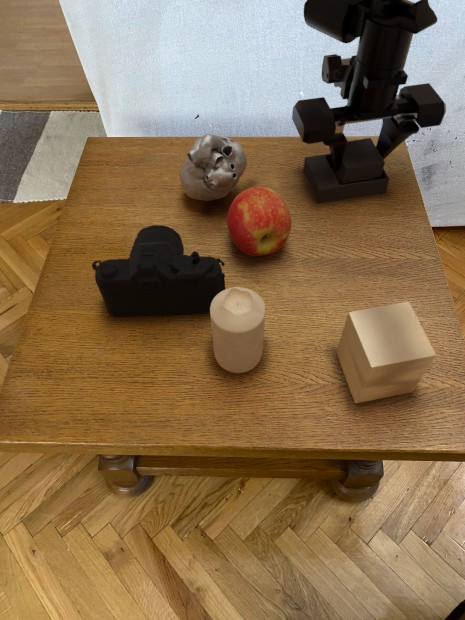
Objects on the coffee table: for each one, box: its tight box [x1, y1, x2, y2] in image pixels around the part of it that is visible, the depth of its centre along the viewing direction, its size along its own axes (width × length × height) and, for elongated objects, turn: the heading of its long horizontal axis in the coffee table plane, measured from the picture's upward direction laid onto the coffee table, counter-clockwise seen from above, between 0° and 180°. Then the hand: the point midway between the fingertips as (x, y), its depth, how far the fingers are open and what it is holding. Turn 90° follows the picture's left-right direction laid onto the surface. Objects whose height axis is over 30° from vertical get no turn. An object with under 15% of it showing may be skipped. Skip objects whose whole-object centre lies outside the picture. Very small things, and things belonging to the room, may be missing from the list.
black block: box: [331, 137, 386, 184], centre depth 68 cm, size 6×6×2 cm
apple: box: [226, 186, 293, 257], centre depth 61 cm, size 8×8×8 cm
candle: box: [209, 286, 266, 374], centre depth 51 cm, size 6×6×10 cm
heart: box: [179, 133, 248, 202], centre depth 66 cm, size 10×10×12 cm
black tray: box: [302, 153, 390, 204], centre depth 70 cm, size 10×7×2 cm
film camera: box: [91, 224, 226, 317], centre depth 57 cm, size 15×10×9 cm, turn 91°
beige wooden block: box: [335, 300, 437, 404], centre depth 50 cm, size 6×6×8 cm
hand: (355, 166), depth 69 cm, fingers closed on black block, 6 cm apart
